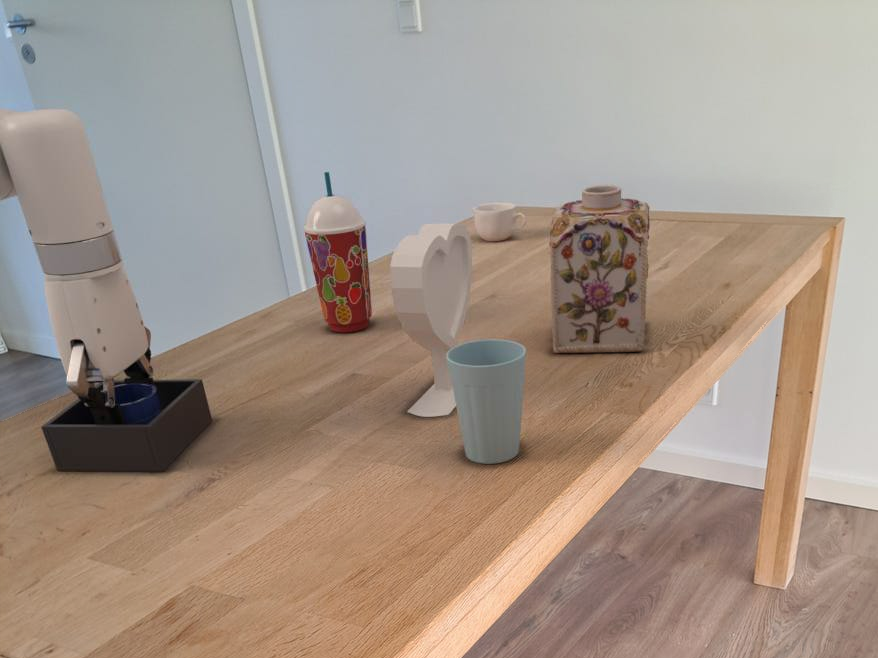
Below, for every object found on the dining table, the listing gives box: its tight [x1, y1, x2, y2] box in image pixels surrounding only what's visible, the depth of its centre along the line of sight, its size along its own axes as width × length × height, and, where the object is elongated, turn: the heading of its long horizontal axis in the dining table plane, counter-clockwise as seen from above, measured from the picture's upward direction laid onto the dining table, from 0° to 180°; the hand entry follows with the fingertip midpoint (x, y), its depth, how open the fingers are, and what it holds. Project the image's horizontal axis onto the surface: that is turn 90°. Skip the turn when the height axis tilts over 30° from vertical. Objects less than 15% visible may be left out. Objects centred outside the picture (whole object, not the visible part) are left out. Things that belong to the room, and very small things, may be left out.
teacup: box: [472, 202, 527, 242], centre depth 167 cm, size 10×8×5 cm
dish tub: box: [40, 378, 213, 473], centre depth 100 cm, size 12×13×5 cm
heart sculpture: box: [389, 222, 473, 418], centre depth 102 cm, size 16×5×18 cm, turn 162°
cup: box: [446, 338, 527, 465], centre depth 91 cm, size 8×8×10 cm
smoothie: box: [302, 171, 373, 334], centre depth 126 cm, size 8×8×20 cm
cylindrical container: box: [101, 383, 163, 425], centre depth 99 cm, size 7×7×4 cm
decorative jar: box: [548, 183, 651, 354], centre depth 115 cm, size 12×12×18 cm
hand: (132, 425), depth 100 cm, fingers closed on cylindrical container, 6 cm apart
